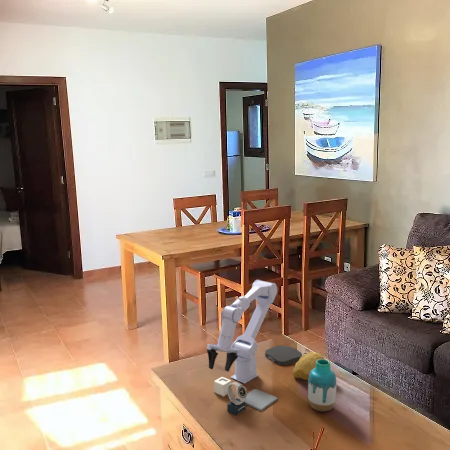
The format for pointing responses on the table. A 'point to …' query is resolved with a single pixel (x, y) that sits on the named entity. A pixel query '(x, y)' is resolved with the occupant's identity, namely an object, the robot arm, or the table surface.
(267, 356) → the media streaming box
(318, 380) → the vase
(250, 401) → the mat
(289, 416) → the table surface
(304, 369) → the decorative stone
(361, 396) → the table surface
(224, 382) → the letter cube
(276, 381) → the table surface
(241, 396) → the watch
